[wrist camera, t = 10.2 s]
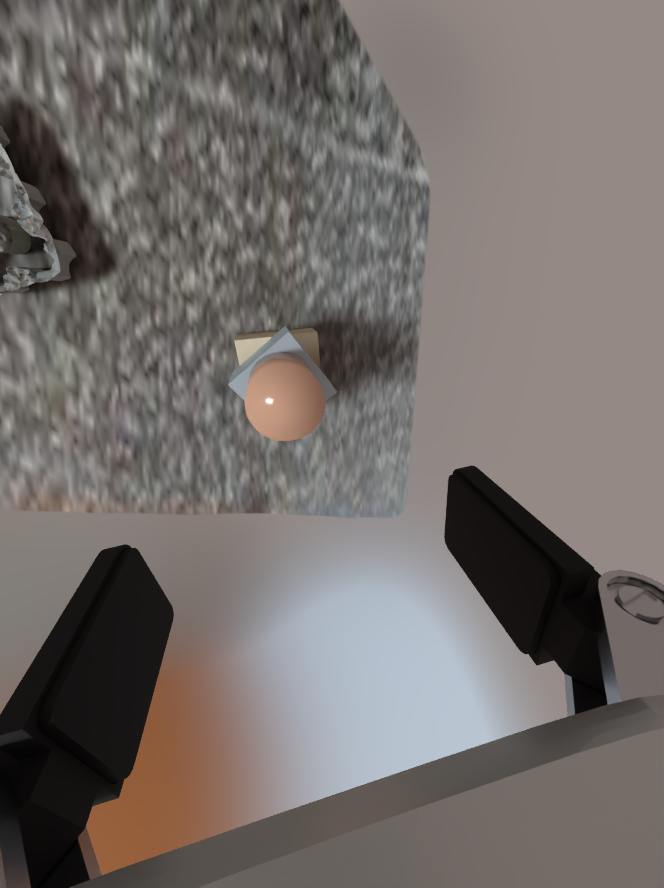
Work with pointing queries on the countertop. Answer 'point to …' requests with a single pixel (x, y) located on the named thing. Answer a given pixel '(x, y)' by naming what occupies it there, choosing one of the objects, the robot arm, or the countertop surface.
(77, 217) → the countertop surface
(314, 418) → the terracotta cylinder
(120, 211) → the countertop surface
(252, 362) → the tower top block
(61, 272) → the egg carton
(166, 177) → the countertop surface
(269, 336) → the tower base block
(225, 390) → the countertop surface
